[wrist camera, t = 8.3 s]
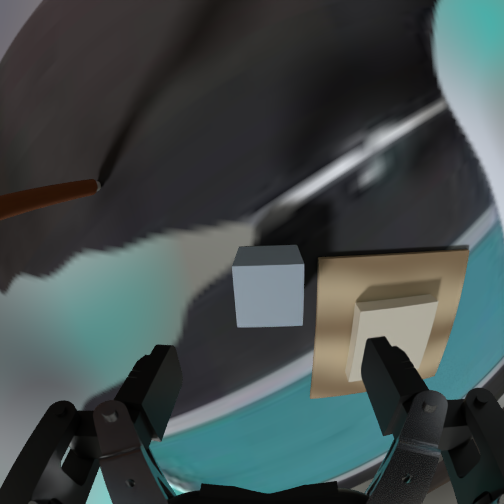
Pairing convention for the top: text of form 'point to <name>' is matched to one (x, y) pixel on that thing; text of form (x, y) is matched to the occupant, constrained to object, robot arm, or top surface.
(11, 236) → the top surface
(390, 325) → the tile
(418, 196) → the top surface
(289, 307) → the block
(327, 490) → the robot arm
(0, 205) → the magnifying glass
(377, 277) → the cork mat
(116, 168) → the top surface
